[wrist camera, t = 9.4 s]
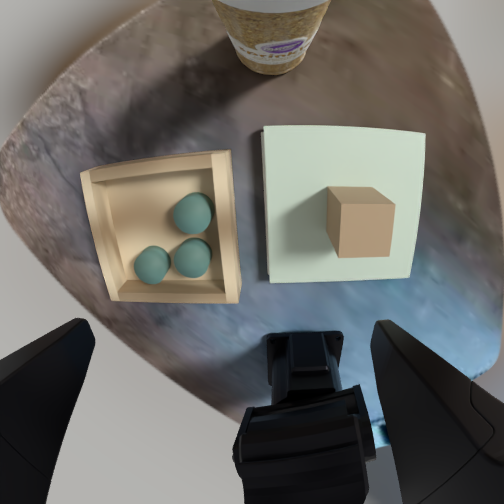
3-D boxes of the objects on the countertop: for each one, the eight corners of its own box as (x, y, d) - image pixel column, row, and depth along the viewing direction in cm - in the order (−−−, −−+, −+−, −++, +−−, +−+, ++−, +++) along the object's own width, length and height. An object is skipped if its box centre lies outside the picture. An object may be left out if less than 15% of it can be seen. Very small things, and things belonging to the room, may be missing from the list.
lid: (405, 272, 21) (430, 307, 17) (269, 277, 22) (269, 317, 17) (420, 132, 17) (458, 139, 12) (263, 126, 17) (261, 127, 13)
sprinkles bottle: (256, 87, 17) (225, 18, 4) (222, 33, 15) (143, -83, 3) (320, 59, 16) (406, -36, 3) (285, 4, 14) (301, -133, 2)
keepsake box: (241, 284, 23) (238, 303, 20) (123, 284, 23) (111, 300, 21) (230, 149, 18) (224, 153, 16) (98, 165, 19) (79, 172, 17)
